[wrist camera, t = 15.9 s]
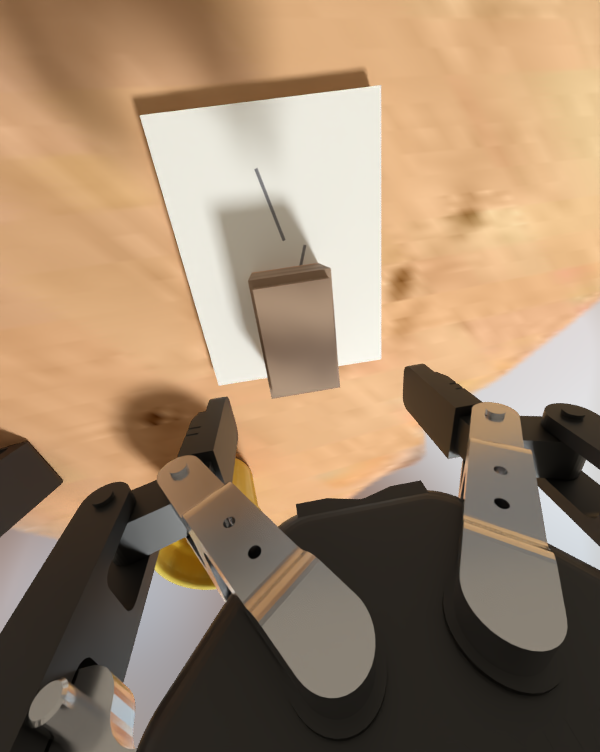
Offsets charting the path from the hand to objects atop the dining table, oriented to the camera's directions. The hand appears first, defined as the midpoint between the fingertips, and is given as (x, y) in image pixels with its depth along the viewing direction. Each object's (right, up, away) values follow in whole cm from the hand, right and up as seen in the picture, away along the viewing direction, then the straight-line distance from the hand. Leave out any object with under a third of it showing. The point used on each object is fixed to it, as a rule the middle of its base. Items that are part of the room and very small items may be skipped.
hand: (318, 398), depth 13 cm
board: (-2, +11, +12) cm, 16 cm away
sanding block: (-1, +6, +12) cm, 14 cm away
